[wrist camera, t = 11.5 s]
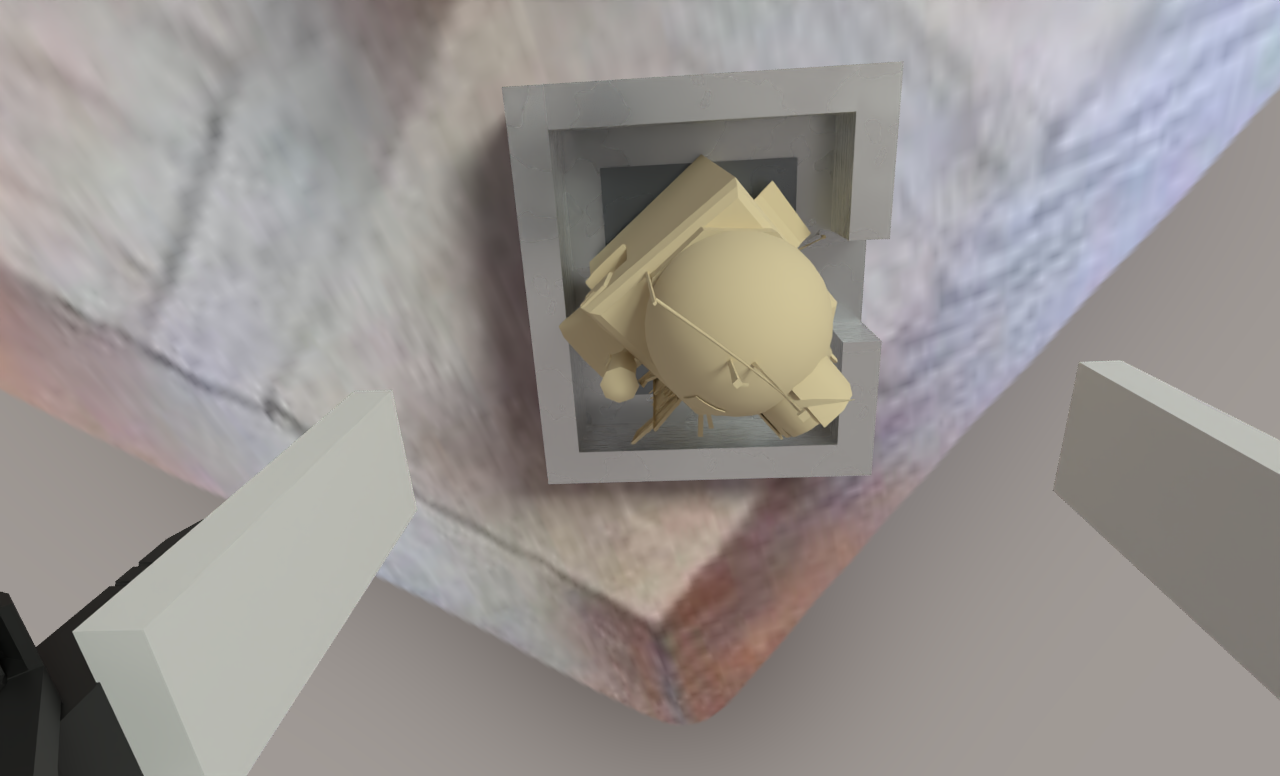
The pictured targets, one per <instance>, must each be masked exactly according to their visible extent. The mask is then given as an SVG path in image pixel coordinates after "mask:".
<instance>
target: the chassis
mask: <svg viewBox="0 0 1280 776" xmlns="http://www.w3.org/2000/svg"><path fill="white" fill-rule="evenodd" d="M903 62H904V61H902V62H887V63H871V64H856V65H840V66H824V67H809V68H793V69H777V70H762V71H746V72H731V73H715V74H699V75H684V76H668V77H652V78H637V79H621V80H606V81H590V82H574V83H559V84H543V85H527V86H512V87H502V92H503V101H504V109H505V118H506V126H507V135H508V143H509V152H510V160H511V169H512V177H513V186H514V194H515V203H516V211H517V220H518V229H519V237H520V246H521V254H522V263H523V271H524V280H525V288H526V297H527V305H528V314H529V322H530V331H531V340H532V348H533V357H534V365H535V374H536V382H537V391H538V399H539V408H540V416H541V425H542V433H543V442H544V450H545V459H546V468H547V476H548V484H571V483H607V482H643V481H680V480H716V479H752V478H789V477H825V476H861V475H871V470H872V457H873V445H874V432H875V419H876V406H877V394H878V381H879V368H880V355H881V343H882V341H881V340H880V339H879V338H878V337H877V336H876V335H875V334H874V333H873V332H872V331H870V330H869V329H868V328H867V327H866V326H865V325H864V324H863V323H862V322H861V313H862V298H863V283H864V268H865V253H866V240H875V239H890V228H891V215H892V202H893V190H894V177H895V164H896V151H897V139H898V126H899V113H900V100H901V88H902V75H903ZM701 154H702V155H703V156H705V157H706V158H708V159H709V160H711V161H712V162H714V163H715V164H717V165H718V166H720V167H721V168H722V169H724V170H725V171H727V172H728V173H730V174H731V175H733V176H734V177H736V179H737V180H738V181H739V182H740V184H741V185H742V186H743V187H744V188H745V190H746V191H747V192H748V193H749V195H750V196H751V197H752V198H753V200H754V199H755V198H756V197H757V196H758V195H759V194H760V193H761V192H762V190H763V189H764V188H765V187H766V186H767V185H768V184H769V183H770V182H771V181H773V182H774V183H775V184H776V186H777V187H778V189H779V190H780V191H781V193H782V194H783V195H784V197H785V198H786V200H787V201H788V202H789V204H790V205H791V206H792V208H793V209H794V211H795V212H796V213H797V215H798V216H799V217H800V219H801V220H802V221H803V223H804V224H805V226H806V227H807V228H808V230H809V231H810V232H811V234H810V235H809V236H808V237H807V238H806V239H805V240H804V241H803V242H802V243H801V244H800V245H799V247H798V248H797V249H799V248H801V247H803V246H805V245H807V244H809V243H812V242H814V241H816V240H818V239H820V238H822V237H821V235H825V236H826V238H825V239H821V240H819V241H817V242H815V243H813V244H811V245H809V246H807V247H806V246H805V248H804V249H802V250H801V249H800V251H801V252H802V253H803V254H804V255H805V256H806V257H807V258H808V259H809V260H810V261H811V263H812V264H813V265H814V266H815V268H816V270H817V271H818V273H819V274H820V276H821V277H822V279H823V280H824V283H825V285H826V288H827V290H828V291H829V293H830V294H831V295H832V296H833V298H834V299H835V300H836V301H837V306H836V310H835V315H834V319H833V332H832V340H831V344H830V348H831V350H832V353H833V355H834V356H835V357H836V358H837V363H833V362H832V363H833V364H834V365H835V366H836V367H837V369H838V370H839V371H840V372H841V373H842V375H843V376H844V377H845V378H846V379H847V381H848V382H849V383H850V386H851V391H852V396H851V398H850V399H855V400H852V401H849V402H848V404H847V405H846V407H845V409H844V410H843V411H842V412H841V413H840V414H839V415H838V416H837V417H836V418H835V419H834V420H833V421H831V422H830V423H829V424H828V425H827V426H826V427H825V428H824V427H823V426H822V424H821V423H820V424H818V425H817V426H815V427H814V428H812V429H811V430H809V431H808V432H805V433H803V434H801V435H799V436H796V437H792V436H791V437H789V438H786V437H785V436H783V435H782V437H783V439H782V440H781V439H780V438H779V437H778V436H777V434H776V433H775V432H774V431H773V430H772V429H771V428H770V427H769V426H768V425H767V424H766V423H765V421H764V420H763V419H762V418H761V417H760V416H759V415H758V414H757V415H753V416H741V417H732V416H722V415H721V416H715V415H711V417H712V422H713V426H714V428H712V429H709V426H708V421H707V416H706V414H705V415H703V437H698V414H696V413H695V412H694V411H693V410H692V409H691V408H690V407H689V406H687V405H686V404H685V403H684V402H683V401H681V402H680V405H679V406H677V407H676V408H675V409H674V411H673V412H672V413H671V414H670V415H669V417H668V418H667V419H666V420H665V421H664V423H663V424H662V425H661V426H660V427H659V429H658V430H657V431H656V432H655V431H654V430H653V429H651V431H650V432H649V433H647V434H646V435H644V436H643V437H642V438H641V439H640V440H639V441H638V442H636V443H635V444H634V445H632V444H631V442H632V440H633V438H634V435H635V433H636V431H637V430H638V429H639V428H641V427H642V426H643V425H644V424H645V423H646V422H647V421H649V420H650V419H651V418H652V417H653V405H652V404H653V398H652V399H650V398H651V397H653V391H652V390H653V380H651V381H649V382H647V384H646V385H645V387H644V388H643V387H642V386H641V385H640V383H639V382H638V383H639V388H638V390H637V392H636V394H635V396H634V398H632V399H629V400H627V401H624V402H621V403H618V402H615V401H613V400H611V399H608V398H606V397H605V395H604V393H603V390H602V388H601V386H600V383H601V381H602V379H603V378H602V377H601V376H600V375H599V374H598V373H597V372H596V371H595V370H594V369H593V368H592V367H591V366H590V365H589V364H588V363H587V362H586V361H585V360H584V359H583V358H582V357H581V356H580V355H579V354H578V353H577V351H576V350H575V349H574V348H573V347H572V346H571V345H570V344H569V343H568V341H567V340H566V339H565V338H564V336H563V334H562V332H561V330H560V328H559V325H560V324H561V323H562V322H563V321H564V320H565V319H566V318H568V317H569V316H570V315H571V314H572V313H574V312H575V311H576V310H577V309H578V308H579V307H580V305H581V304H582V302H583V301H584V300H585V296H586V295H587V294H588V293H589V292H590V291H591V289H590V288H589V286H588V285H587V284H586V283H585V282H586V281H587V279H588V278H589V277H590V261H591V260H592V259H593V258H594V257H595V256H596V255H597V254H598V253H600V252H601V251H602V250H603V249H604V248H605V247H606V246H607V245H608V244H609V243H610V242H611V241H612V240H613V239H614V238H615V237H616V236H617V235H618V234H619V233H620V232H621V231H622V230H623V229H624V228H625V227H626V226H627V225H628V224H630V223H631V222H632V221H633V220H634V219H635V218H636V217H637V216H638V215H639V214H640V213H641V212H642V211H643V210H644V209H645V208H646V207H647V206H648V205H649V204H650V203H651V202H652V201H653V200H654V199H655V198H656V197H657V196H658V195H660V194H661V193H662V192H663V191H664V190H665V189H666V188H667V187H668V186H669V185H670V184H671V183H672V182H673V181H674V180H675V179H676V178H677V177H678V176H679V175H680V174H681V173H682V172H683V171H684V170H685V169H686V168H687V167H688V166H689V165H691V164H692V163H693V162H694V161H695V160H696V159H697V158H698V157H699V156H700V155H701ZM648 371H649V370H648V369H647V368H646V367H645V366H644V365H643V364H642V365H640V366H639V367H637V368H636V378H637V381H638V380H639V379H640V378H641V377H642V376H644V375H645V374H646V373H647V372H648ZM650 391H652V392H651V393H650V394H649V392H650Z"/></svg>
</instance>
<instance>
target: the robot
mask: <svg viewBox="0 0 1280 776" xmlns="http://www.w3.org/2000/svg"><path fill="white" fill-rule="evenodd" d="M810 234H811V232H810V231H809V230H808V228H807V227H806V226H805V224H804V223H803V221H802V220H801V219H800V217H799V216H798V215H797V213H796V212H795V211H794V209H793V208H792V206H791V205H790V204H789V202H788V201H787V200H786V198H785V197H784V195H783V194H782V193H781V191H780V190H779V189H778V187H777V186H776V184H775V183H774V182H773V181H771V182H770V183H769V184H768V185H767V186H766V187H765V188H764V189H763V190H762V192H761V193H760V194H759V195H758V196H757V197H756V198H755V199H754V200H753V198H752V197H751V196H750V195H749V193H748V192H747V191H746V190H745V188H744V187H743V186H742V185H741V184H740V182H739V181H738V180H737V179H736V177H734V176H733V175H731V174H730V173H728V172H727V171H725V170H724V169H722V168H721V167H720V166H718V165H717V164H715V163H714V162H712V161H711V160H709V159H708V158H706V157H705V156H703V155H702V154H701V155H700V156H699V157H698V158H697V159H696V160H695V161H694V162H693V163H692V164H691V165H689V166H688V167H687V168H686V169H685V170H684V171H683V172H682V173H681V174H680V175H679V176H678V177H677V178H676V179H675V180H674V181H673V182H672V183H671V184H670V185H669V186H668V187H667V188H666V189H665V190H664V191H663V192H662V193H661V194H660V195H658V196H657V197H656V198H655V199H654V200H653V201H652V202H651V203H650V204H649V205H648V206H647V207H646V208H645V209H644V210H643V211H642V212H641V213H640V214H639V215H638V216H637V217H636V218H635V219H634V220H633V221H632V222H631V223H630V224H628V225H627V226H626V227H625V228H624V229H623V230H622V231H621V232H620V233H619V234H618V235H617V236H616V237H615V238H614V239H613V240H612V241H611V242H610V243H609V244H608V245H607V246H606V247H605V248H604V249H603V250H602V251H601V252H600V253H598V254H597V255H596V256H595V257H594V258H593V259H592V260H591V261H590V277H589V278H588V279H587V281H586V282H585V283H586V284H587V285H588V286H589V288H590V289H591V291H590V292H589V293H588V294H587V295H586V296H585V300H584V301H583V302H582V304H581V305H580V307H579V308H578V309H577V310H576V311H575V312H574V313H572V314H571V315H570V316H569V317H568V318H566V319H565V320H564V321H563V322H562V323H561V324H560V325H559V328H560V330H561V332H562V334H563V336H564V338H565V339H566V340H567V341H568V343H569V344H570V345H571V346H572V347H573V348H574V349H575V350H576V351H577V353H578V354H579V355H580V356H581V357H582V358H583V359H584V360H585V361H586V362H587V363H588V364H589V365H590V366H591V367H592V368H593V369H594V370H595V371H596V372H597V373H598V374H599V375H600V376H601V377H602V378H603V379H602V381H601V383H600V386H601V388H602V390H603V393H604V395H605V397H606V398H608V399H611V400H613V401H615V402H618V403H621V402H624V401H627V400H629V399H632V398H634V396H635V394H636V392H637V390H638V388H639V383H640V385H641V386H642V387H643V388H644V387H645V385H646V384H647V382H649V381H651V380H653V390H652V391H653V397H651V398H650V399H652V398H653V404H652V405H653V417H652V418H651V419H650V420H649V421H647V422H646V423H645V424H644V425H643V426H642V427H641V428H639V429H638V430H637V431H636V433H635V435H634V438H633V440H632V442H631V444H632V445H634V444H635V443H636V442H638V441H639V440H640V439H641V438H642V437H643V436H644V435H646V434H647V433H649V432H650V431H651V429H653V430H654V431H655V432H656V431H657V430H658V429H659V427H660V426H661V425H662V424H663V423H664V421H665V420H666V419H667V418H668V417H669V415H670V414H671V413H672V412H673V411H674V409H675V408H676V407H677V406H679V405H680V402H681V401H683V402H684V403H685V404H686V405H687V406H689V407H690V408H691V409H692V410H693V411H694V412H695V413H696V414H698V437H703V415H705V414H706V416H707V421H708V426H709V429H712V428H714V426H713V422H712V417H711V415H715V416H721V415H722V416H732V417H741V416H753V415H757V414H758V415H759V416H760V417H761V418H762V419H763V420H764V421H765V423H766V424H767V425H768V426H769V427H770V428H771V429H772V430H773V431H774V432H775V433H776V434H777V436H778V437H779V438H780V439H781V440H782V439H783V437H782V435H783V436H785V437H786V438H789V437H791V436H792V437H796V436H799V435H801V434H803V433H805V432H808V431H809V430H811V429H812V428H814V427H815V426H817V425H818V424H820V423H821V424H822V426H823V427H824V428H825V427H826V426H827V425H828V424H829V423H830V422H831V421H833V420H834V419H835V418H836V417H837V416H838V415H839V414H840V413H841V412H842V411H843V410H844V409H845V407H846V405H847V404H848V402H849V401H852V400H855V399H850V398H851V396H852V391H851V386H850V383H849V382H848V381H847V379H846V378H845V377H844V376H843V375H842V373H841V372H840V371H839V370H838V369H837V367H836V366H835V365H834V364H833V363H837V358H836V357H835V356H834V355H833V353H832V350H831V348H830V344H831V340H832V332H833V319H834V315H835V310H836V306H837V301H836V300H835V299H834V298H833V296H832V295H831V294H830V293H829V291H828V290H827V288H826V285H825V283H824V280H823V279H822V277H821V276H820V274H819V273H818V271H817V270H816V268H815V266H814V265H813V264H812V263H811V261H810V260H809V259H808V258H807V257H806V256H805V255H804V254H803V253H802V252H801V251H800V249H801V250H802V249H804V248H805V246H806V247H807V246H809V245H811V244H813V243H815V242H817V241H819V240H821V239H825V238H826V236H825V235H821V237H822V238H820V239H818V240H816V241H814V242H812V243H809V244H807V245H805V246H803V247H801V248H799V249H797V248H798V247H799V245H800V244H801V243H802V242H803V241H804V240H805V239H806V238H807V237H808V236H809V235H810ZM832 362H833V363H832ZM642 364H643V365H644V366H645V367H646V368H647V369H648V370H649V371H648V372H647V373H646V374H645V375H644V376H642V377H641V378H640V379H639V380H638V381H637V378H636V368H637V367H639V366H640V365H642ZM638 382H639V383H638ZM652 391H650V392H649V394H650V393H651V392H652Z"/></svg>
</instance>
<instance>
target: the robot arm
mask: <svg viewBox="0 0 1280 776" xmlns="http://www.w3.org/2000/svg"><path fill="white" fill-rule="evenodd" d="M1053 491H1054V492H1055V493H1056V494H1057V495H1058V496H1059V497H1060V498H1062V499H1063V500H1064V501H1065V502H1066V503H1067V504H1068V505H1069V506H1070V507H1071V508H1072V509H1073V510H1075V511H1076V512H1077V513H1078V514H1079V515H1080V516H1081V517H1082V518H1083V519H1084V520H1085V521H1086V522H1088V523H1089V524H1090V525H1091V526H1092V527H1093V528H1094V529H1095V530H1096V531H1097V532H1098V533H1099V534H1101V535H1102V536H1103V537H1104V538H1105V539H1106V540H1107V541H1108V542H1109V543H1110V544H1111V545H1112V546H1113V547H1115V548H1116V549H1117V550H1118V551H1119V552H1120V553H1121V554H1122V555H1123V556H1124V557H1126V559H1128V560H1129V561H1130V562H1131V563H1132V564H1133V565H1134V566H1135V567H1136V568H1137V569H1138V570H1139V571H1140V572H1142V573H1143V574H1144V575H1145V576H1146V577H1147V578H1148V579H1149V580H1150V581H1151V582H1152V583H1153V584H1155V585H1156V586H1157V587H1158V588H1159V589H1160V590H1161V591H1162V592H1163V593H1164V594H1165V595H1166V596H1168V597H1169V598H1170V599H1171V600H1172V601H1173V602H1174V603H1175V604H1176V605H1177V606H1178V607H1179V608H1180V609H1182V610H1183V611H1184V612H1185V613H1186V614H1187V615H1188V616H1189V617H1190V618H1191V619H1192V620H1193V621H1195V622H1196V623H1197V624H1198V625H1199V626H1200V627H1201V628H1202V629H1203V630H1205V632H1206V633H1208V634H1209V635H1210V636H1211V637H1212V638H1213V639H1214V640H1215V641H1216V642H1217V643H1218V644H1220V646H1222V647H1223V648H1224V649H1225V650H1226V651H1227V652H1228V653H1229V654H1230V655H1232V657H1233V658H1235V659H1236V660H1237V661H1238V662H1239V663H1240V664H1241V665H1242V666H1243V667H1244V668H1245V669H1246V670H1248V671H1249V672H1250V673H1251V674H1252V675H1253V676H1254V677H1255V678H1256V679H1257V680H1258V681H1259V682H1260V683H1262V684H1263V685H1264V686H1265V687H1266V688H1267V689H1268V690H1269V691H1270V692H1271V693H1272V694H1274V695H1275V696H1276V697H1277V698H1278V699H1279V700H1280V440H1278V439H1276V438H1274V437H1272V436H1270V435H1268V434H1266V433H1264V432H1262V431H1260V430H1258V429H1256V428H1254V427H1252V426H1250V425H1248V424H1246V423H1244V422H1242V421H1240V420H1238V419H1236V418H1235V417H1233V416H1230V415H1229V414H1227V413H1224V412H1223V411H1221V410H1218V409H1217V408H1215V407H1212V406H1211V405H1209V404H1207V403H1205V402H1203V401H1201V400H1199V399H1197V398H1194V397H1193V396H1191V395H1189V394H1187V393H1185V392H1183V391H1181V390H1179V389H1177V388H1175V387H1173V386H1171V385H1169V384H1167V383H1165V382H1163V381H1161V380H1159V379H1157V378H1155V377H1153V376H1151V375H1149V374H1147V373H1145V372H1143V371H1141V370H1139V369H1137V368H1135V367H1133V366H1131V365H1129V364H1127V363H1125V362H1123V361H1121V360H1120V361H1097V362H1096V361H1095V362H1079V364H1078V369H1077V374H1076V380H1075V384H1074V389H1073V394H1072V399H1071V404H1070V409H1069V414H1068V419H1067V424H1066V429H1065V434H1064V438H1063V444H1062V448H1061V453H1060V458H1059V463H1058V468H1057V473H1056V478H1055V483H1054V488H1053ZM416 511H417V507H416V503H415V498H414V493H413V488H412V483H411V479H410V474H409V469H408V464H407V460H406V455H405V450H404V445H403V440H402V436H401V431H400V426H399V421H398V417H397V412H396V407H395V402H394V397H393V393H392V390H377V391H354V392H353V393H352V394H350V395H349V396H348V397H347V398H346V399H345V400H343V401H342V402H341V403H340V404H339V405H337V406H336V407H335V408H334V409H333V410H332V411H330V412H329V413H328V414H327V415H326V416H325V417H323V418H322V419H321V420H320V421H319V422H318V423H316V424H315V425H314V426H313V427H312V428H310V429H309V430H308V431H307V432H306V433H305V434H303V435H302V436H301V437H300V438H299V439H298V440H296V441H295V442H294V443H293V444H292V445H291V446H289V447H288V448H287V449H286V450H285V451H284V452H282V453H281V454H280V455H279V456H278V457H276V458H275V459H274V460H273V461H272V462H271V463H269V464H268V465H267V466H266V467H265V468H264V469H262V470H261V471H260V472H259V473H258V474H257V475H255V476H254V477H253V478H252V479H251V480H250V481H248V482H247V483H246V484H245V485H244V486H242V487H241V488H240V489H239V490H238V491H237V492H235V493H234V494H233V495H232V496H231V497H230V498H228V499H227V500H226V501H225V502H224V503H223V504H221V505H220V506H219V507H218V508H217V509H216V510H214V511H213V512H212V513H211V514H210V515H209V516H207V517H206V518H205V519H203V520H201V521H199V522H197V523H195V524H193V525H192V526H190V527H188V528H186V529H184V530H182V531H181V532H179V533H177V534H175V535H173V536H171V537H170V538H168V539H166V540H165V541H164V542H162V543H161V544H160V545H159V546H158V547H156V548H155V549H154V550H153V551H152V552H150V553H149V554H148V555H147V556H146V557H144V558H143V559H142V560H141V561H140V562H139V566H138V567H132V568H131V569H130V570H129V571H127V572H126V573H125V574H124V575H123V576H122V577H120V578H119V579H118V580H117V581H116V584H115V586H109V587H108V588H107V589H106V590H105V591H103V592H102V593H101V594H100V595H99V596H97V597H96V598H95V599H94V600H92V601H91V602H90V603H89V604H88V605H86V606H85V607H84V608H83V609H82V610H80V611H79V612H78V613H77V614H76V615H74V616H73V617H72V618H71V619H69V620H68V621H67V622H66V623H65V624H63V625H62V626H61V627H60V628H59V629H57V630H56V631H55V632H54V633H53V634H51V635H50V636H49V637H48V638H47V639H45V640H44V641H43V642H42V643H41V644H39V645H38V646H37V647H35V645H34V643H33V641H32V639H31V637H30V635H29V633H28V631H27V630H26V627H25V625H24V623H23V621H22V619H21V617H20V616H19V613H18V611H17V609H16V607H15V605H14V603H13V601H12V600H11V597H10V595H9V594H8V593H3V592H0V776H247V775H248V773H249V772H250V770H251V768H252V767H253V765H254V764H255V762H256V760H257V759H258V758H259V756H260V754H261V753H262V751H263V750H264V748H265V747H266V745H267V743H268V742H269V740H270V739H271V737H272V736H273V734H274V732H275V731H276V729H277V728H278V726H279V725H280V723H281V722H282V720H283V718H284V717H285V715H286V714H287V712H288V711H289V709H290V708H291V706H292V705H293V703H294V701H295V700H296V698H297V696H298V695H299V694H300V692H301V691H302V689H303V687H304V686H305V684H306V683H307V681H308V680H309V678H310V676H311V675H312V673H313V672H314V670H315V669H316V667H317V666H318V664H319V662H320V661H321V659H322V658H323V656H324V655H325V653H326V652H327V650H328V648H329V647H330V645H331V644H332V642H333V641H334V639H335V638H336V636H337V634H338V633H339V631H340V630H341V628H342V627H343V625H344V623H345V622H346V620H347V619H348V617H349V616H350V614H351V613H352V611H353V609H354V608H355V606H356V605H357V603H358V602H359V600H360V598H361V597H362V595H363V594H364V592H365V590H366V589H367V588H368V586H369V584H370V583H371V581H372V580H373V578H374V577H375V575H376V574H377V572H378V571H379V569H380V567H381V566H382V564H383V563H384V561H385V560H386V558H387V556H388V555H389V553H390V552H391V550H392V549H393V547H394V546H395V544H396V542H397V541H398V539H399V538H400V536H401V535H402V533H403V532H404V530H405V528H406V527H407V525H408V524H409V522H410V521H411V519H412V518H413V516H414V514H415V513H416Z"/></svg>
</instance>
